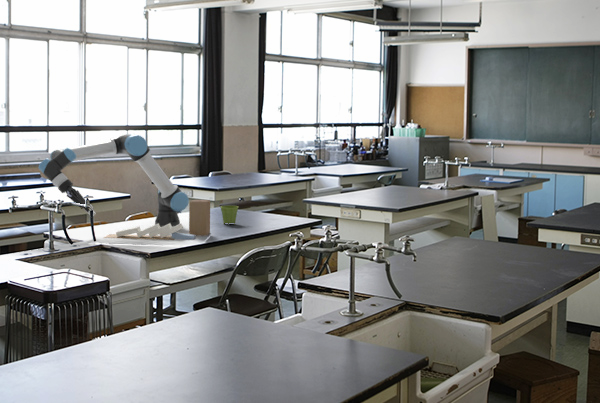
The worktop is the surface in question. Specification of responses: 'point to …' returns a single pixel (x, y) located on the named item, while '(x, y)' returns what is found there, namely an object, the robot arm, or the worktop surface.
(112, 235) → the oak board
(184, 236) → the tile
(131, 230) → the tile
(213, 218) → the worktop surface
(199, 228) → the wooden block
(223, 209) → the plant pot
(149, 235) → the tile
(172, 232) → the tile
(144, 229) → the tile
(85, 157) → the robot arm
